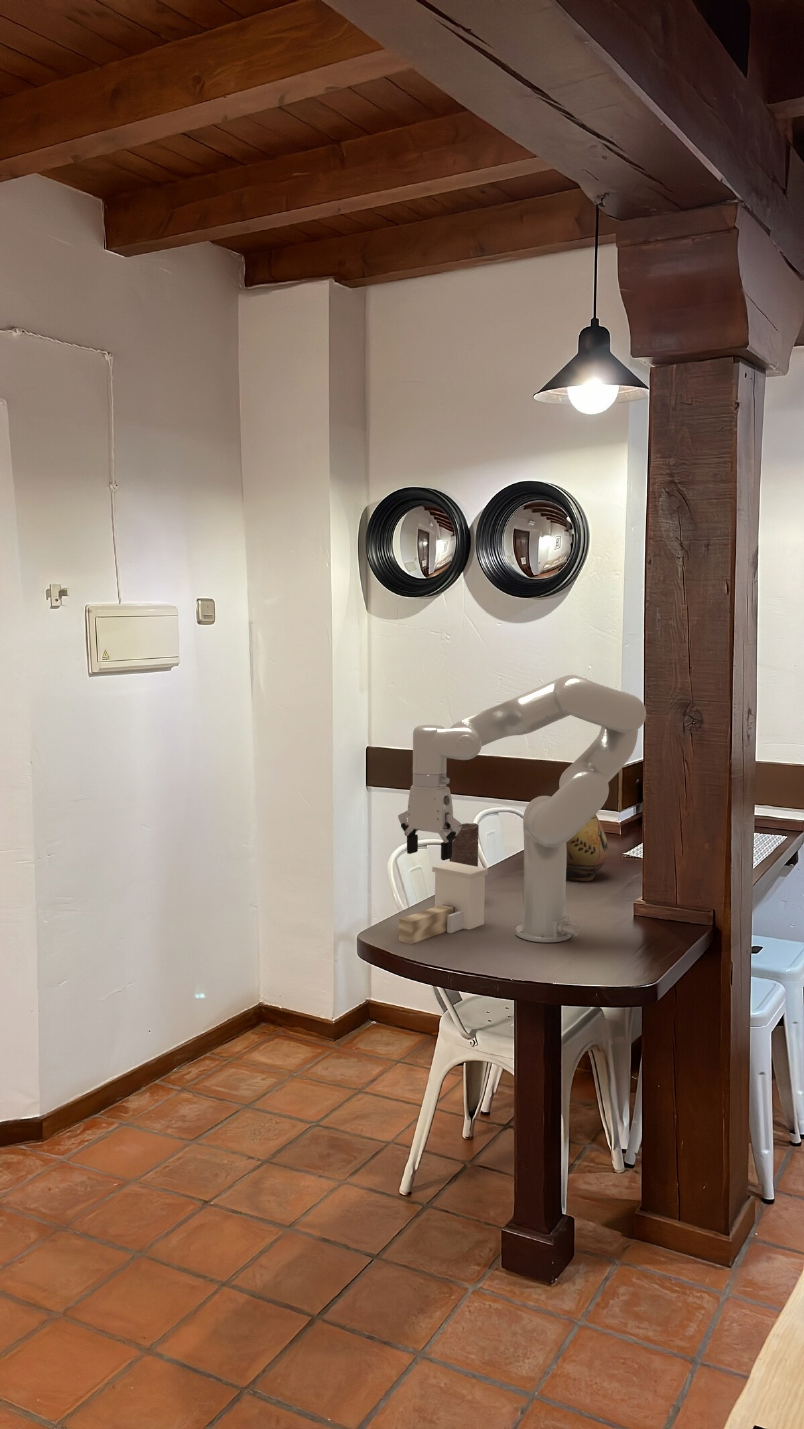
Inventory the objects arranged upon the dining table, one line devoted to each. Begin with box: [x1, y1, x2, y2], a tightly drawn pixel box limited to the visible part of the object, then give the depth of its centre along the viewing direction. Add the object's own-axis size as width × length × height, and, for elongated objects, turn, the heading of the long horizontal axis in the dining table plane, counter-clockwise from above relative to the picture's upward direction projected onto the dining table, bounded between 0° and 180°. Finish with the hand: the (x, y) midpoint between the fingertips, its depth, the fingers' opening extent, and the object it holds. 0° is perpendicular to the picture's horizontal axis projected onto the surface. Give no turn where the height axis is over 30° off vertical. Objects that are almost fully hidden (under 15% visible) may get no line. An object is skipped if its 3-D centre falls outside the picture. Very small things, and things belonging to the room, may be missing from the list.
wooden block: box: [398, 904, 455, 945], centre depth 243 cm, size 16×4×5 cm, turn 140°
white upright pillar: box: [431, 861, 489, 934], centre depth 250 cm, size 12×11×13 cm
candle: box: [448, 822, 480, 867], centre depth 270 cm, size 8×7×20 cm
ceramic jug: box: [566, 813, 609, 882], centre depth 297 cm, size 17×15×30 cm
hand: (429, 856), depth 242 cm, fingers open, 9 cm apart
